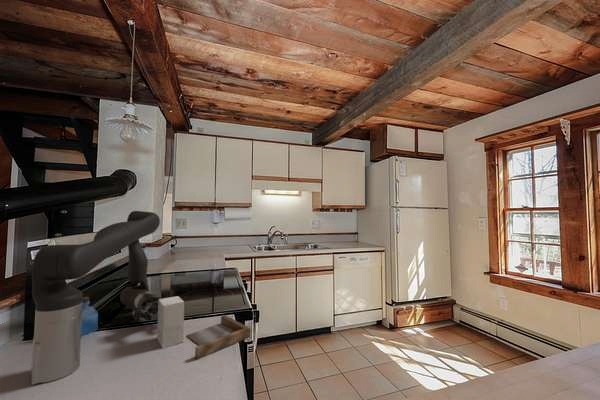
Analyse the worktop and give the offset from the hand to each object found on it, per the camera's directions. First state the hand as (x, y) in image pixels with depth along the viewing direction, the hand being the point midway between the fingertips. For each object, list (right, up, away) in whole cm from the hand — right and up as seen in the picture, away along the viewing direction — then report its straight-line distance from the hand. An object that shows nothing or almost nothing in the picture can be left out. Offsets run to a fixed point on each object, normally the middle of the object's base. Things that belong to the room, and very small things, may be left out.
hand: (164, 314), depth 89 cm
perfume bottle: (-29, -7, +1) cm, 30 cm away
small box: (+4, -7, -4) cm, 9 cm away
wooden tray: (+18, -7, -3) cm, 20 cm away
